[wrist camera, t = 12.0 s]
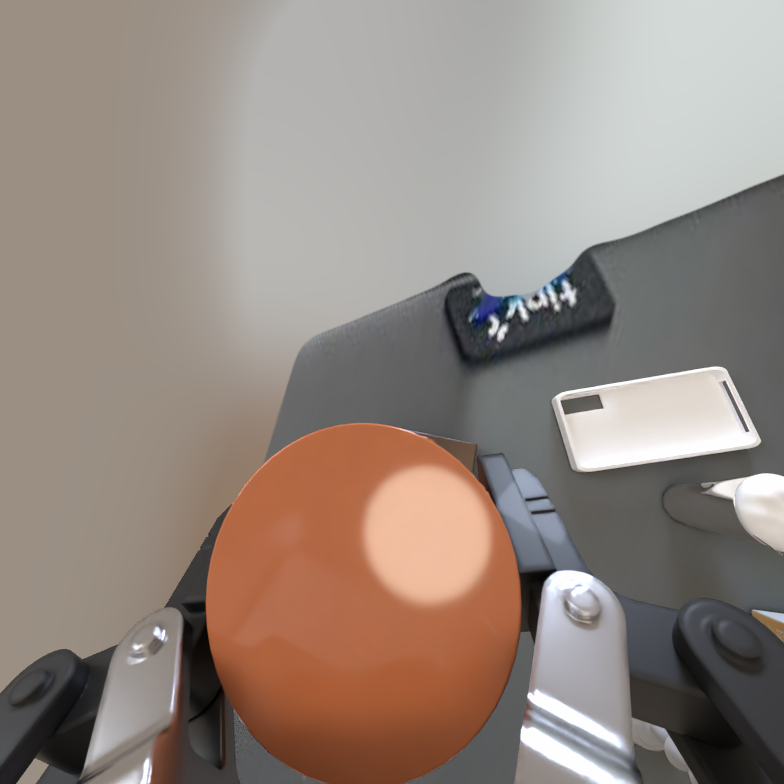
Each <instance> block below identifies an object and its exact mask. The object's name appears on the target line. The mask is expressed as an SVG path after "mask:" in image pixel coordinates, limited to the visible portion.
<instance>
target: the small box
mask: <svg viewBox="0 0 784 784" xmlns="http://www.w3.org/2000/svg"><path fill="white" fill-rule="evenodd" d="M752 616H753V617H754V618H756V619H757V620H759V621H760V622H761V623H763V624H764V625H765V626H767V627H768V628H769V629H770V630H771V631H772V632H773V633H774V634H775V635H776V636H777V637H778V638H779V639H780V640H781V641H782V642H783V643H784V614H781V613H774V612H767V611H760V610H752Z"/></svg>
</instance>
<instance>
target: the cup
mask: <svg viewBox="0 0 784 784" xmlns="http://www.w3.org/2000/svg"><path fill="white" fill-rule="evenodd" d="M485 489H486V488H485V487H484V486H483V485H482V484H481V483H480V482H479V481H478V480H477V478H476V477H475V476H474V475H473V474H472V473H471V472H470V471H469V470H468V469H467V468H466V467H465V466H464V465H463V464H462V463H461V462H460V461H459V460H458V459H457V458H455V457H454V456H453V455H452V454H450V453H449V452H448V451H446V450H445V449H444V448H442V447H441V446H439V445H437V444H436V443H435V442H434V441H433V440H432V439H430V440H429V439H428V438H427V437H425V436H420V435H418V434H416V433H413V432H411V431H408V430H405V429H401V428H398V427H394V426H390V425H383V424H376V423H351V424H343V425H336V426H332V427H328V428H324V429H321V430H318V431H316V432H313V433H311V434H308V435H305V436H303V437H301V438H300V439H298V440H296V441H294V442H292V443H290V444H289V445H287V446H286V447H284V448H283V449H282V450H280V451H279V452H277V453H276V454H275V455H273V456H272V457H271V458H270V459H269V460H268V461H267V462H265V463H264V464H263V465H262V466H261V467H260V468H259V469H258V470H257V471H256V472H255V473H254V475H253V476H252V477H251V478H250V479H249V480H248V482H247V483H246V484H245V485H244V487H243V489H242V490H241V491H240V493H239V494H238V496H237V497H236V498H235V500H234V502H233V504H232V506H231V507H230V509H229V511H228V513H227V515H226V517H225V519H224V521H223V524H222V526H221V529H220V531H219V534H218V536H217V539H216V542H215V546H214V549H213V553H212V556H211V561H210V567H209V572H208V578H207V590H206V623H207V631H208V638H209V645H210V650H211V654H212V658H213V661H214V665H215V669H216V672H217V675H218V677H219V680H220V682H221V685H222V687H223V690H224V692H225V694H226V696H227V698H228V700H229V702H230V704H231V705H232V707H233V709H234V711H235V713H236V714H237V716H238V717H239V719H240V720H241V721H242V723H243V724H244V725H245V727H246V728H247V730H248V731H249V732H250V734H251V735H252V736H253V737H254V738H255V739H256V740H257V741H258V742H259V743H260V744H261V745H262V746H263V747H264V748H265V749H266V750H267V751H268V752H269V753H270V754H272V755H273V756H274V757H275V758H277V759H278V760H279V761H281V762H282V763H283V764H285V765H286V766H287V767H289V768H291V769H293V770H295V771H296V772H298V773H300V774H302V775H304V776H306V777H307V778H310V779H313V780H316V781H319V782H322V783H324V784H405V783H408V782H410V781H413V780H416V779H419V778H421V777H424V776H426V775H427V774H429V773H431V772H433V771H434V770H436V769H438V768H439V767H441V766H443V765H445V764H446V763H447V762H449V761H450V760H451V759H452V758H453V757H455V756H456V755H457V754H458V753H459V752H461V751H462V750H463V749H464V748H465V747H466V746H467V745H468V744H469V743H470V742H471V741H472V739H473V738H474V737H475V736H476V735H477V734H478V733H479V732H480V730H481V729H482V728H483V727H484V725H485V723H486V722H487V720H488V719H489V717H490V716H491V714H492V713H493V711H494V710H495V708H496V707H497V705H498V703H499V700H500V698H501V696H502V694H503V692H504V690H505V688H506V686H507V683H508V681H509V678H510V674H511V671H512V668H513V665H514V662H515V659H516V654H517V649H518V643H519V637H520V632H521V614H522V599H521V583H520V576H519V571H518V565H517V560H516V555H515V552H514V549H513V546H512V543H511V539H510V536H509V533H508V531H507V529H506V526H505V524H504V522H503V520H502V517H501V515H500V513H499V511H498V509H497V508H496V506H495V504H494V503H493V501H492V499H491V497H490V494H489V492H488V491H486V490H485Z"/></svg>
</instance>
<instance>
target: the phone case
mask: <svg viewBox="0 0 784 784" xmlns="http://www.w3.org/2000/svg"><path fill="white" fill-rule="evenodd" d="M723 381H726V383H727V385H728V387H729V389H730V391H731V393H732V395H733V397H734V399H735V401H736V404H737V406H738V408H739V410H740V412H741V414H742V416H743V418H744V420H745V422H746V424H747V426H748V429H749V431H750V432H745V430H744V428H743V425H742V423H741V421H740V419H739V417H738V415H737V413H736V411H735V409H734V407H733V404H732V402H731V400H730V398H729V396H728V394H727V392H726V390H725V388H724V385H723V383H722V382H723ZM597 394H598V395H599V397H600V400H601V403H602V406H603V409H597V410H591V411H585V412H579V413H573V414H567V415H564V412H563V408H562V405H561V402H560V401H561V400H567V399H573V398H579V397H585V396H591V395H597ZM552 405H553V408H554V412H555V415H556V418H557V422H558V425H559V428H560V432H561V435H562V438H563V442H564V445H565V448H566V451H567V455H568V458H569V461H570V465H571V468H572V469H573V470H574V471H576V472H592V471H599V470H606V469H613V468H619V467H626V466H633V465H640V464H646V463H653V462H660V461H667V460H673V459H680V458H687V457H694V456H700V455H707V454H714V453H721V452H727V451H734V450H741V449H748V448H753V447H756V446H757V445H759V444H760V442H761V440H760V437H759V435H758V433H757V431H756V429H755V427H754V425H753V423H752V421H751V419H750V417H749V415H748V413H747V411H746V409H745V407H744V405H743V403H742V400H741V398H740V396H739V394H738V392H737V390H736V388H735V386H734V384H733V382H732V380H731V378H730V376H729V374H728V372H727V370H726V369H725V368H722V367H709V368H703V369H697V370H691V371H685V372H679V373H673V374H667V375H661V376H655V377H650V378H644V379H638V380H632V381H626V382H620V383H614V384H608V385H602V386H596V387H590V388H584V389H578V390H573V391H567V392H563V393H560V394H558V395H557V396H556V397H554V398H553V399H552Z"/></svg>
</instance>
